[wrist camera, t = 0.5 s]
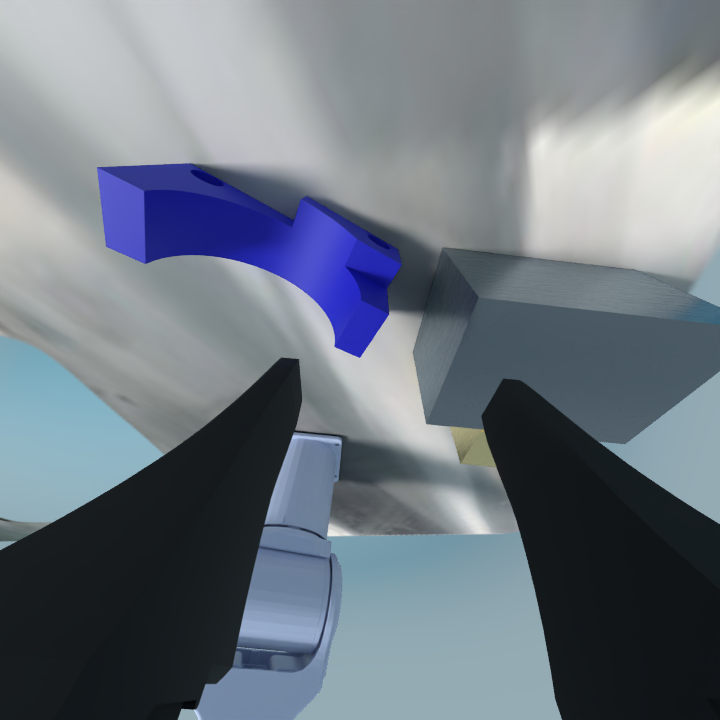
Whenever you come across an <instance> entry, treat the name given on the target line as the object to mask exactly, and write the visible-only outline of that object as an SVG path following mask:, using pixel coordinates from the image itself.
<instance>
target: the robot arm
mask: <svg viewBox="0 0 720 720" xmlns="http://www.w3.org/2000/svg"><path fill="white" fill-rule="evenodd" d="M301 403H302V391H301V379H300V367H299V359H291V358H280V359H279V360H278V361H277V362H276V363H275V364H274V365H273V366H272V367H271V368H270V369H269V370H268V371H267V372H266V373H265V374H264V375H263V376H262V377H260V378H259V379H258V380H257V381H256V382H255V383H254V384H253V385H252V386H251V387H250V388H249V389H248V390H247V391H245V392H244V393H243V394H242V395H241V396H240V397H239V398H238V399H237V400H236V401H234V402H233V403H232V404H231V405H230V406H229V407H227V408H226V409H225V410H224V411H223V412H221V413H220V414H219V415H218V416H217V417H215V418H214V419H213V420H212V421H210V422H209V423H208V424H207V425H205V426H204V427H203V428H202V429H200V430H199V431H198V432H196V433H195V434H194V435H192V436H191V437H190V438H188V439H187V440H185V441H184V442H183V443H181V444H180V445H178V446H177V447H176V448H174V449H173V450H171V451H170V452H168V453H167V454H165V455H164V456H163V457H161V458H159V459H158V460H156V461H155V462H153V463H152V464H150V465H149V466H147V467H146V468H144V469H142V470H141V471H139V472H138V473H136V474H135V475H133V476H132V477H130V478H128V479H127V480H125V481H124V482H122V483H120V484H119V485H117V486H115V487H114V488H112V489H110V490H109V491H107V492H105V493H103V494H102V495H100V496H98V497H97V498H95V499H93V500H92V501H90V502H88V503H86V504H85V505H83V506H81V507H79V508H78V509H76V510H74V511H72V512H71V513H69V514H67V515H65V516H64V517H62V518H60V519H58V520H56V521H54V522H53V523H51V524H49V525H47V526H45V527H44V528H42V529H40V530H38V531H36V532H34V533H32V534H30V535H28V536H27V537H25V538H23V539H21V540H19V541H17V542H15V543H13V544H11V545H10V546H8V547H6V548H4V549H2V550H0V720H178V717H179V714H180V711H181V709H192V710H194V712H195V714H196V716H197V718H198V720H293V719H294V718H295V717H296V716H297V715H298V714H299V713H300V712H301V711H302V710H303V709H304V708H305V707H306V706H307V705H308V704H309V703H310V702H311V701H312V700H313V699H314V697H315V696H316V695H317V694H318V693H319V692H320V690H321V688H322V682H323V679H324V677H325V674H326V669H327V663H328V657H329V653H330V648H331V643H332V640H333V637H334V634H335V631H336V628H337V624H338V619H339V613H340V606H341V597H342V571H341V567H340V564H339V562H338V559H337V557H336V555H335V554H333V553H330V550H331V543H332V542H331V541H327V532H328V524H329V516H330V509H331V501H332V493H333V485H334V482H337V481H338V480H339V469H340V458H341V447H342V438H340V437H337V436H327V435H316V434H306V433H296V432H294V431H295V428H296V425H297V421H298V417H299V412H300V408H301ZM481 418H482V422H483V427H484V432H485V435H486V439H487V443H488V446H489V449H490V451H491V454H492V457H493V459H494V462H495V465H496V467H497V470H498V472H499V475H500V477H501V480H502V483H503V485H504V488H505V490H506V493H507V495H508V498H509V501H510V503H511V506H512V509H513V512H514V514H515V517H516V520H517V524H518V527H519V531H520V534H521V538H522V541H523V545H524V549H525V552H526V556H527V560H528V564H529V568H530V572H531V576H532V580H533V584H534V588H535V592H536V597H537V602H538V606H539V611H540V616H541V620H542V625H543V629H544V635H545V641H546V646H547V651H548V657H549V663H550V669H551V674H552V681H553V687H554V693H555V699H556V703H557V706H558V708H559V712H560V715H561V718H562V720H720V524H718V523H717V522H715V521H714V520H712V519H710V518H709V517H707V516H705V515H704V514H702V513H701V512H699V511H697V510H696V509H694V508H693V507H691V506H689V505H688V504H686V503H685V502H683V501H682V500H680V499H678V498H677V497H675V496H674V495H672V494H671V493H670V492H668V491H666V490H665V489H664V488H662V487H661V486H659V485H658V484H656V483H655V482H653V481H652V480H650V479H649V478H647V477H646V476H644V475H643V474H641V473H640V472H638V471H637V470H636V469H634V468H633V467H632V466H630V465H629V464H627V463H626V462H625V461H623V460H622V459H620V458H619V457H618V456H617V455H615V454H614V453H613V452H611V451H610V450H609V449H607V448H606V447H605V446H603V445H602V444H601V443H599V442H598V441H597V440H595V439H594V438H593V437H592V436H590V435H589V434H588V433H586V432H585V431H584V430H583V429H581V428H580V427H579V426H578V425H576V424H575V423H574V422H573V421H571V420H570V419H569V418H568V417H567V416H565V415H564V414H563V413H562V412H560V411H559V410H558V409H557V408H555V407H554V406H553V405H552V404H551V403H549V402H548V401H547V400H546V399H544V398H543V397H542V396H541V395H539V394H538V393H537V392H536V391H534V390H533V389H532V388H531V387H529V386H528V385H527V384H525V383H524V382H522V381H521V380H514V379H504V378H503V380H502V381H501V383H500V385H499V386H498V388H497V390H496V392H495V393H494V395H493V397H492V398H491V400H490V402H489V404H488V405H487V407H486V409H485V411H484V412H483V414H482V416H481ZM236 647H244V648H236ZM245 648H254V649H245ZM255 649H265V650H275V651H265V650H255ZM276 651H285V652H276Z"/></svg>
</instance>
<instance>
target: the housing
mask: <svg viewBox="0 0 720 720" xmlns="http://www.w3.org/2000/svg"><path fill="white" fill-rule="evenodd" d="M413 356H414V361H415V366H416V372H417V377H418V382H419V388H420V393H421V398H422V403H423V409H424V414H425V419H426V424H431V425H441V426H451V427H461V428H471V429H481V430H484V427H483V422H482V418H481V416H482V414H483V412H484V411H485V409H486V407H487V405H488V404H489V402H490V400H491V398H492V397H493V395H494V393H495V392H496V390H497V388H498V386H499V385H500V383H501V381H502V380H503V378H504V379H514V380H521V381H522V382H524V383H525V384H527V385H528V386H529V387H531V388H532V389H533V390H534V391H536V392H537V393H538V394H539V395H541V396H542V397H543V398H544V399H546V400H547V401H548V402H549V403H551V404H552V405H553V406H554V407H555V408H557V409H558V410H559V411H560V412H562V413H563V414H564V415H565V416H567V417H568V418H569V419H570V420H571V421H573V422H574V423H575V424H576V425H578V426H579V427H580V428H581V429H583V430H584V431H585V432H586V433H588V434H589V435H590V436H592V437H593V438H594V439H595V440H597V441H599V442H609V443H619V444H626V443H627V442H628V441H630V440H631V439H632V438H634V437H635V436H636V435H637V434H639V433H640V432H641V431H643V430H644V429H645V428H647V427H648V426H649V425H651V424H652V423H653V422H654V421H656V420H657V419H658V418H660V417H661V416H662V415H663V414H665V413H666V412H667V411H669V410H670V409H671V408H672V407H674V406H675V405H676V404H678V403H679V402H680V401H682V400H683V399H684V398H686V397H687V396H688V395H689V394H691V393H692V392H693V391H695V390H696V389H697V388H698V387H700V386H701V385H702V384H703V383H705V382H706V381H708V380H709V379H710V378H711V377H713V376H714V375H715V374H717V373H718V372H719V371H720V307H718V306H715V305H713V304H711V303H709V302H706V301H704V300H702V299H699V298H697V297H695V296H693V295H690V294H688V293H686V292H684V291H681V290H679V289H677V288H674V287H672V286H670V285H668V284H665V283H663V282H661V281H659V280H656V279H654V278H652V277H649V276H647V275H645V274H643V273H640V272H638V271H636V270H630V269H621V268H613V267H604V266H595V265H587V264H578V263H570V262H561V261H553V260H544V259H535V258H527V257H518V256H510V255H501V254H493V253H484V252H476V251H467V250H458V249H450V248H442V252H441V255H440V259H439V262H438V266H437V269H436V273H435V276H434V280H433V283H432V287H431V291H430V294H429V298H428V301H427V305H426V308H425V312H424V315H423V319H422V322H421V326H420V329H419V333H418V336H417V340H416V343H415V347H414V351H413Z"/></svg>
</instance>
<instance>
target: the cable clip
mask: <svg viewBox="0 0 720 720" xmlns="http://www.w3.org/2000/svg"><path fill="white" fill-rule="evenodd" d="M97 170H98V179H99V188H100V196H101V205H102V214H103V223H104V232H105V240H106V247H108V248H110V249H113V250H115V251H117V252H119V253H122V254H124V255H126V256H129V257H131V258H133V259H135V260H138V261H140V262H142V263H145V264H146V263H149V262H152V261H154V260H158V259H161V258H166V257H171V256H180V255H204V256H214V257H222V258H227V259H232V260H236V261H240V262H244V263H247V264H251V265H254V266H257V267H259V268H262V269H265V270H267V271H269V272H272V273H274V274H276V275H278V276H280V277H282V278H284V279H286V280H287V281H289V282H291V283H292V284H294V285H296V286H297V287H299V288H300V289H301V290H303V291H304V292H305V293H307V294H308V295H309V296H310V297H311V298H313V299H314V300H315V301H316V302H317V303H318V304H319V306H320V307H321V308H322V309H323V310H324V312H325V313H326V315H327V316H328V318H329V319H330V322H331V324H332V326H333V329H334V334H335V346H334V347H336V348H338V349H341V350H343V351H345V352H347V353H350V354H352V355H354V356H357V357H359V358H360V357H361V355H362V354H363V353H364V351H365V350H366V348H367V347H368V345H369V344H370V342H371V341H372V339H373V338H374V336H375V335H376V333H377V332H378V330H379V329H380V327H381V326H382V324H383V323H384V321H385V320H386V318H387V317H388V315H389V307H388V295H387V288H388V286H389V285H390V283H391V281H392V280H393V278H394V276H395V275H396V273H397V272H398V270H399V268H400V267H401V265H402V264H401V260H400V255H399V251H398V249H396V248H395V247H393V246H391V245H390V244H388V243H386V242H384V241H383V240H381V239H379V238H378V237H376V236H374V235H372V234H371V233H369V232H367V231H366V230H364V229H362V228H360V227H359V226H357V225H355V224H354V223H352V222H350V221H348V220H347V219H345V218H343V217H342V216H340V215H338V214H337V213H335V212H333V211H331V210H330V209H328V208H326V207H325V206H323V205H321V204H319V203H318V202H316V201H314V200H313V199H311V198H309V197H307V196H306V197H304V198H302V199H301V201H300V204H299V207H298V210H297V214H296V217H295V220H292V219H290V218H289V217H287V216H285V215H283V214H281V213H280V212H278V211H276V210H274V209H272V208H270V207H269V206H267V205H265V204H263V203H261V202H260V201H258V200H256V199H254V198H252V197H250V196H249V195H247V194H245V193H243V192H241V191H240V190H238V189H236V188H234V187H232V186H231V185H229V184H227V183H225V182H223V181H221V180H220V179H218V178H216V177H214V176H212V175H211V174H209V173H207V172H205V171H203V170H202V169H200V168H198V167H196V166H194V165H192V164H191V163H189V164H165V165H141V166H117V167H97Z"/></svg>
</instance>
